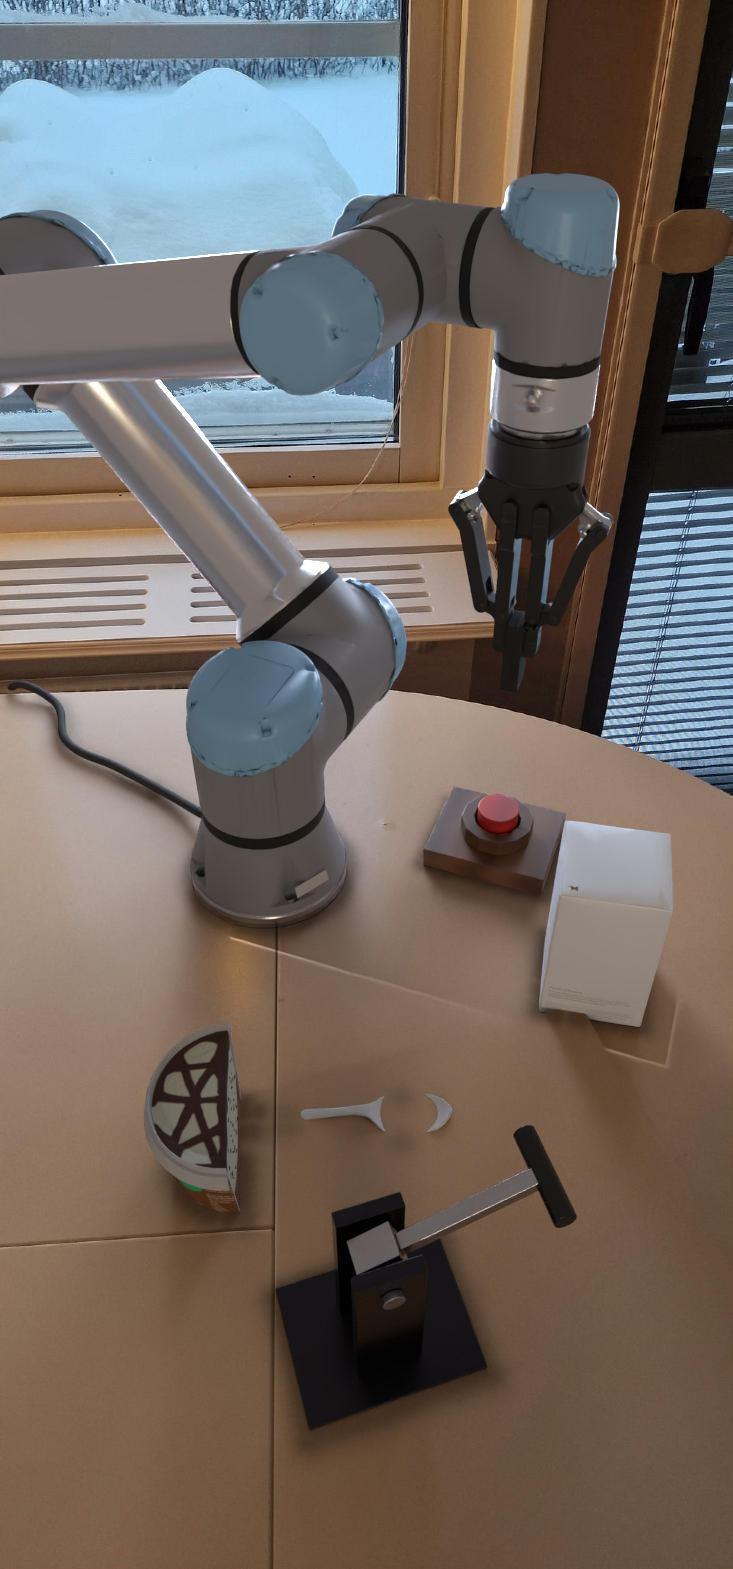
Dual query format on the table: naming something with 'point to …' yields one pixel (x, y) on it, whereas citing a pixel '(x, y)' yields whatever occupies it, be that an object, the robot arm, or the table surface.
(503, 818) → the button
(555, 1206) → the lever
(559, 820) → the button block
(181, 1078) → the food container
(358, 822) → the table surface
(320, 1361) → the bracket
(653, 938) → the rectangular carton
